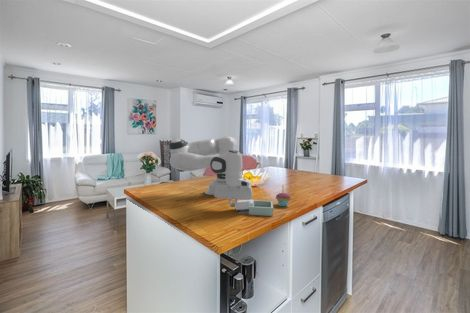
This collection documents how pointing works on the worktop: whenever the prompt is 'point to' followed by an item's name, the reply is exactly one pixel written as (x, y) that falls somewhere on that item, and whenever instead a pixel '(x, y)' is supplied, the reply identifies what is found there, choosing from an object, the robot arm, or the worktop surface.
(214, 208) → the worktop surface
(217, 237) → the worktop surface
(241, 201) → the white rectangular block
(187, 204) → the worktop surface
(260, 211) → the dock
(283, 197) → the cupcake
